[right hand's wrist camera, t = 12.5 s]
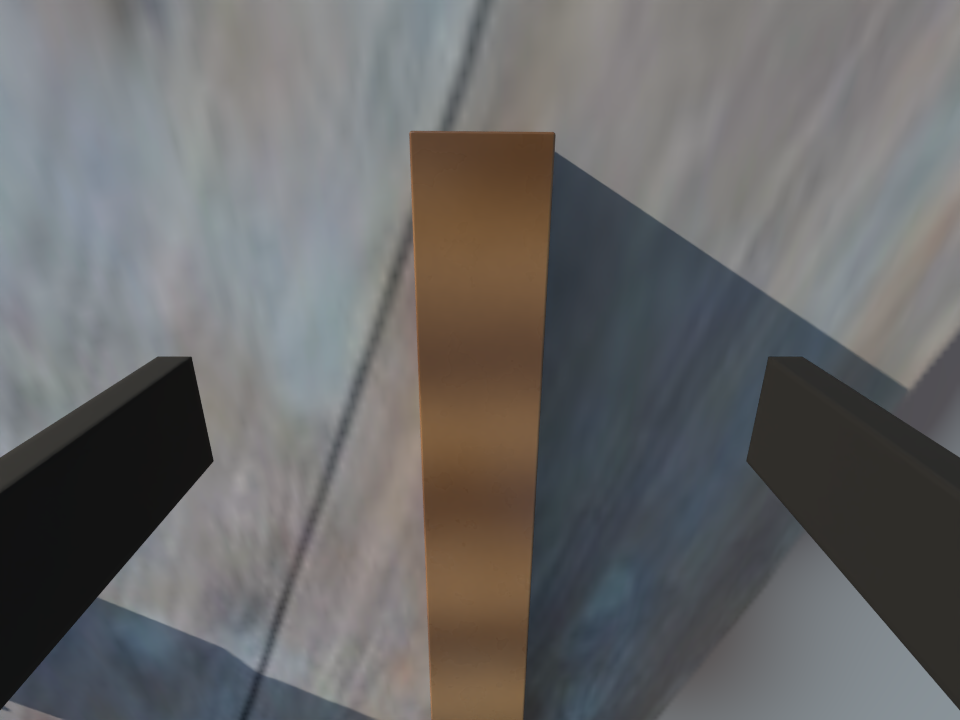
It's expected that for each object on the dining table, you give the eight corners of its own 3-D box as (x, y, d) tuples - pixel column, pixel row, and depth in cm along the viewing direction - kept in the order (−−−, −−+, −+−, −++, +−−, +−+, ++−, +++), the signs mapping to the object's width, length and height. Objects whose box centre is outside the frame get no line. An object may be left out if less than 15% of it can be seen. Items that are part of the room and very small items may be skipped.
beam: (428, 136, 28) (408, 130, 20) (535, 137, 28) (555, 131, 20) (445, 784, 47) (438, 906, 40) (507, 784, 47) (513, 906, 40)
